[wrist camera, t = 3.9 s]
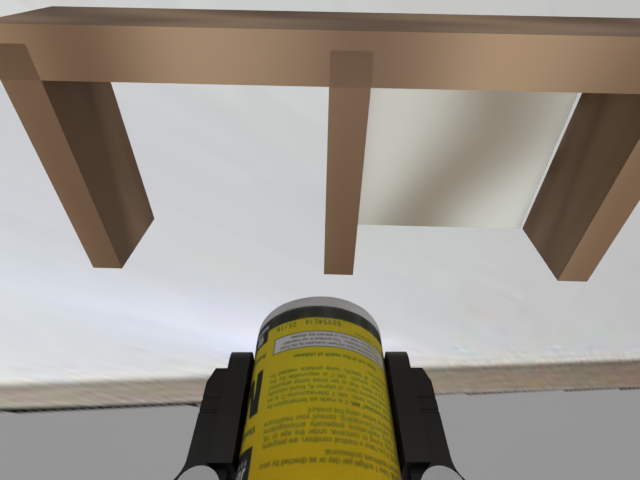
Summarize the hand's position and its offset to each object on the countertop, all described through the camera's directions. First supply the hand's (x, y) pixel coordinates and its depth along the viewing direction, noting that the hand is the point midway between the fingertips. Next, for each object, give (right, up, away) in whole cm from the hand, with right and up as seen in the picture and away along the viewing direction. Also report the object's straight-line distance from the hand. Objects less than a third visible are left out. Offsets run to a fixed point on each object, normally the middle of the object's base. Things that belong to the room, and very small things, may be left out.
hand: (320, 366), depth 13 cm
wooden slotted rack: (+1, +8, 0) cm, 8 cm away
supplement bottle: (0, +1, +1) cm, 2 cm away
